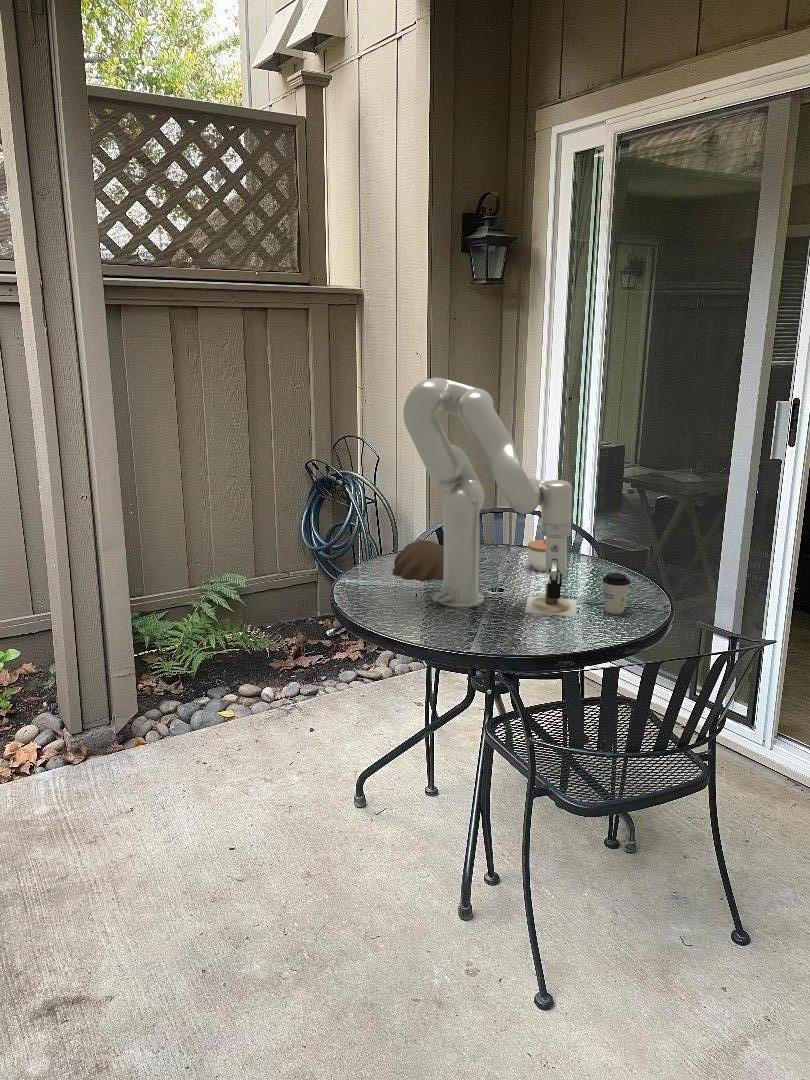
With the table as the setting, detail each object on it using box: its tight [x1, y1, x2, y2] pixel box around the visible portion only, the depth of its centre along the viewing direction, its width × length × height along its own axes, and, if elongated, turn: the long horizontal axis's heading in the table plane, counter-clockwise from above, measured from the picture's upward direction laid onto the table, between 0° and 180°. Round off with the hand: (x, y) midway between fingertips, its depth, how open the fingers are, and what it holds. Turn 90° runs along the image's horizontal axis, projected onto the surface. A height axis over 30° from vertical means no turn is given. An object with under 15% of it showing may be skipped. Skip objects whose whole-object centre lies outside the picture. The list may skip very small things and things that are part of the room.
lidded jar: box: [527, 538, 547, 572], centre depth 239 cm, size 11×11×9 cm
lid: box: [532, 583, 571, 612], centre depth 205 cm, size 10×10×6 cm
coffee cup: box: [602, 572, 631, 615], centre depth 201 cm, size 7×7×10 cm
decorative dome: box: [392, 539, 444, 582], centre depth 236 cm, size 19×20×10 cm
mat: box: [524, 596, 578, 617], centre depth 205 cm, size 13×13×1 cm
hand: (554, 592), depth 204 cm, fingers open, 9 cm apart
